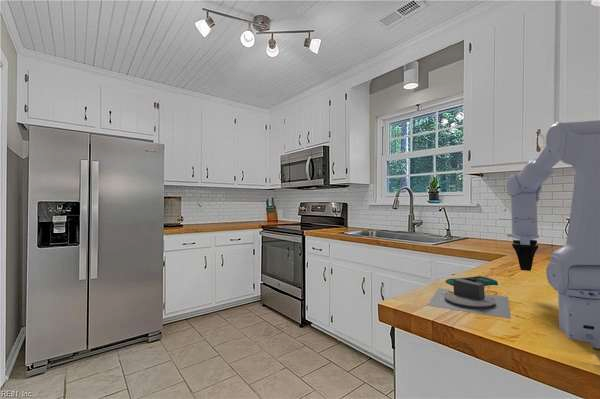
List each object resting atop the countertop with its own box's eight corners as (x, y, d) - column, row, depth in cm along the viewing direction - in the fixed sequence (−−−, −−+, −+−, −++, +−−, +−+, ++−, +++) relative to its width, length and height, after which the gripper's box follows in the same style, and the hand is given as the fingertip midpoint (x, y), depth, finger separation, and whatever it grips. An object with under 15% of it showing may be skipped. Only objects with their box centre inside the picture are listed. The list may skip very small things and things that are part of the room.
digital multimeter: (443, 287, 101) (443, 278, 101) (480, 283, 104) (480, 274, 104) (459, 293, 94) (459, 284, 94) (499, 289, 97) (499, 280, 97)
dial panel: (510, 323, 69) (510, 317, 69) (427, 309, 79) (427, 304, 79) (508, 301, 84) (508, 296, 84) (438, 291, 94) (438, 287, 94)
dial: (504, 302, 79) (503, 283, 79) (478, 311, 73) (478, 290, 73) (460, 291, 90) (460, 274, 90) (435, 298, 84) (434, 280, 84)
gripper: (507, 217, 92) (508, 261, 92) (505, 220, 80) (507, 271, 80) (537, 217, 87) (538, 264, 87) (539, 220, 76) (541, 274, 76)
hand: (525, 267), depth 83 cm, fingers open, 7 cm apart
